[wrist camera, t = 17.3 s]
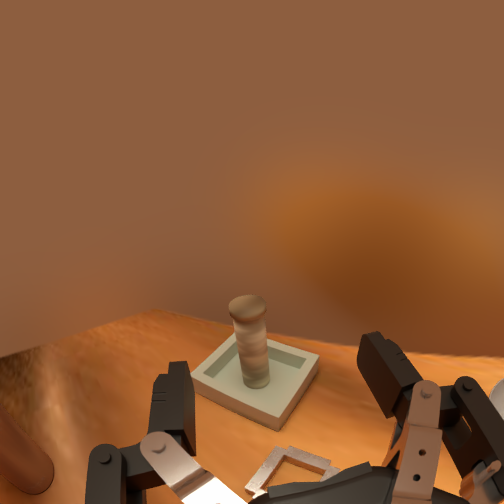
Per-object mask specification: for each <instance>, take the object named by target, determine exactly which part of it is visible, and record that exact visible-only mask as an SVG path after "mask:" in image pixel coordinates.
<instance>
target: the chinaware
mask: <svg viewBox="0 0 504 504" xmlns="http://www.w3.org/2000/svg"><path fill="white" fill-rule="evenodd" d="M489 399H490V401H491V402H492V404H493V405H494V407H495V408H496V409H497V411H498V412H499V414H500V415H501V417H502V418H503V420H504V378H503V379H501V380H500V381H499V382H498V383H497V384H496V385H495V386H494V388H493V389H492V391H491V393H490V395H489Z"/></svg>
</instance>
